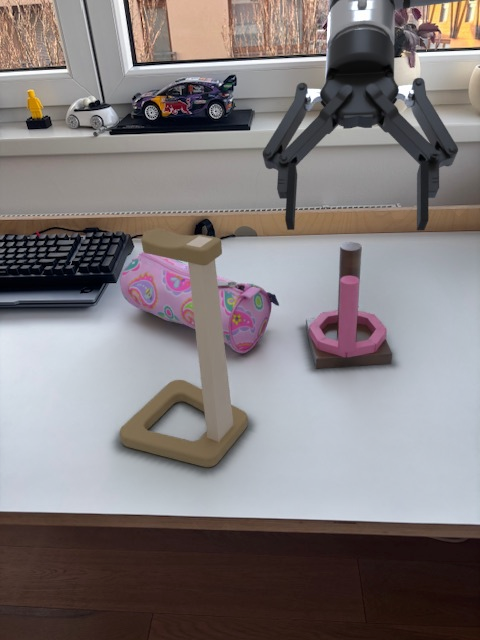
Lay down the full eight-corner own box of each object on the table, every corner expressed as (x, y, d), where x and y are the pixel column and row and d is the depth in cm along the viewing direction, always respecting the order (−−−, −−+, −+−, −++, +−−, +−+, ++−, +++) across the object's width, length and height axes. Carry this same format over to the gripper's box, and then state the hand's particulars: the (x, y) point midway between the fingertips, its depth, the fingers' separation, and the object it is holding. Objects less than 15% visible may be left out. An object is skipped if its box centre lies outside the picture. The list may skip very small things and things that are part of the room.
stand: (373, 323, 72) (380, 228, 65) (391, 363, 64) (401, 260, 57) (305, 328, 72) (305, 233, 65) (315, 368, 65) (316, 266, 57)
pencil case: (281, 333, 71) (279, 272, 67) (236, 368, 66) (231, 303, 61) (168, 291, 84) (160, 236, 79) (122, 316, 78) (110, 259, 73)
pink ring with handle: (305, 357, 64) (305, 282, 59) (311, 314, 72) (312, 245, 67) (387, 362, 62) (395, 285, 57) (384, 317, 70) (390, 246, 65)
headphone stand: (176, 385, 63) (147, 205, 52) (258, 414, 58) (247, 221, 47) (115, 443, 56) (66, 247, 44) (203, 481, 51) (174, 271, 39)
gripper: (246, 32, 60) (231, 210, 55) (486, 17, 56) (491, 209, 51) (255, 76, 67) (243, 237, 63) (468, 66, 63) (472, 239, 58)
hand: (354, 225), depth 57 cm, fingers open, 13 cm apart
